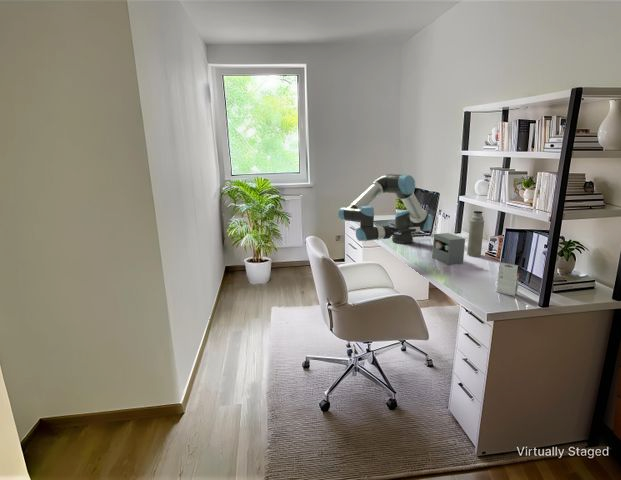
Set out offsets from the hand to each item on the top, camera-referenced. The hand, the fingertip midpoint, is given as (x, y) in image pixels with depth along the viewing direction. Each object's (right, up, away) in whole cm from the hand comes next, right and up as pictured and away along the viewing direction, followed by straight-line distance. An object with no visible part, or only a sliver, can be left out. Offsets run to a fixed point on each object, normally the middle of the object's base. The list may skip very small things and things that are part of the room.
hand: (419, 229), depth 218 cm
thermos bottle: (+39, -16, +17) cm, 46 cm away
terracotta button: (+15, -10, +8) cm, 20 cm away
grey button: (+13, -11, +2) cm, 18 cm away
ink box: (+26, -31, -47) cm, 62 cm away
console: (+18, -19, +5) cm, 27 cm away
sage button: (+18, -12, -1) cm, 21 cm away
